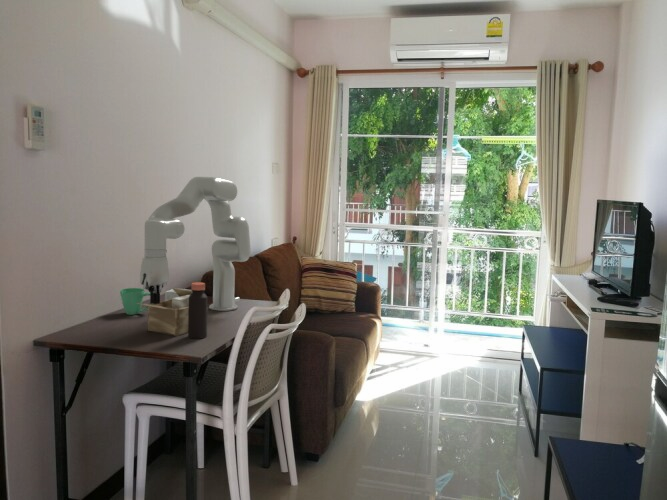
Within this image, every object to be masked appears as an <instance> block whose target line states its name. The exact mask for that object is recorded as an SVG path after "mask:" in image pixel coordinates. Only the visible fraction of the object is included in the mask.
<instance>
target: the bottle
mask: <svg viewBox="0 0 667 500" xmlns="http://www.w3.org/2000/svg"><path fill="white" fill-rule="evenodd" d="M190 290H192V294H191V295H190V296H189V310H188V333H187V334H188V335H187V336H188V337H189V338H190V339H194V340H195V339H205V338H206V337H208V335H207V334H208V296H207V294H206V293H205V291H206V283H205V282H199V281H198V282H197V281H196V282H192V283H191V288H190Z"/></svg>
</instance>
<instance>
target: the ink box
mask: <svg viewBox="0 0 667 500" xmlns="http://www.w3.org/2000/svg"><path fill="white" fill-rule="evenodd" d="M177 288H178V287H177ZM178 289H181V288H178ZM183 289H184V290H190V291H192V289H187V288H183ZM177 297H179V296H178V295H177V293H176V292H175V291H174V290H173V289H172V288H171V289H170V290H169V289H168V290H166V291H165V292H164V301H166V300H170V299H172V298H177Z"/></svg>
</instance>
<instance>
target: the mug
mask: <svg viewBox="0 0 667 500" xmlns="http://www.w3.org/2000/svg"><path fill="white" fill-rule="evenodd" d="M145 291H146V289H143V288H140V287H139V288H137V287H131V288H130V287H128V288H123V289H122V288H121V289H120V290H119V294H120V297H121V298H120V299H121V302H122V306H123V308H124V312H125V314H126V315H130V316H131V315H134V316H135V315H138V314H139V313H142V312H145V311H146V310H147V311H148V306H147V305H146V307H144V308H142V305H141V304H137V303H143V300H144V297H146V296H149V297H150V293H149V291H148V292H145ZM149 304H152V303H150V302H149Z"/></svg>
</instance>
